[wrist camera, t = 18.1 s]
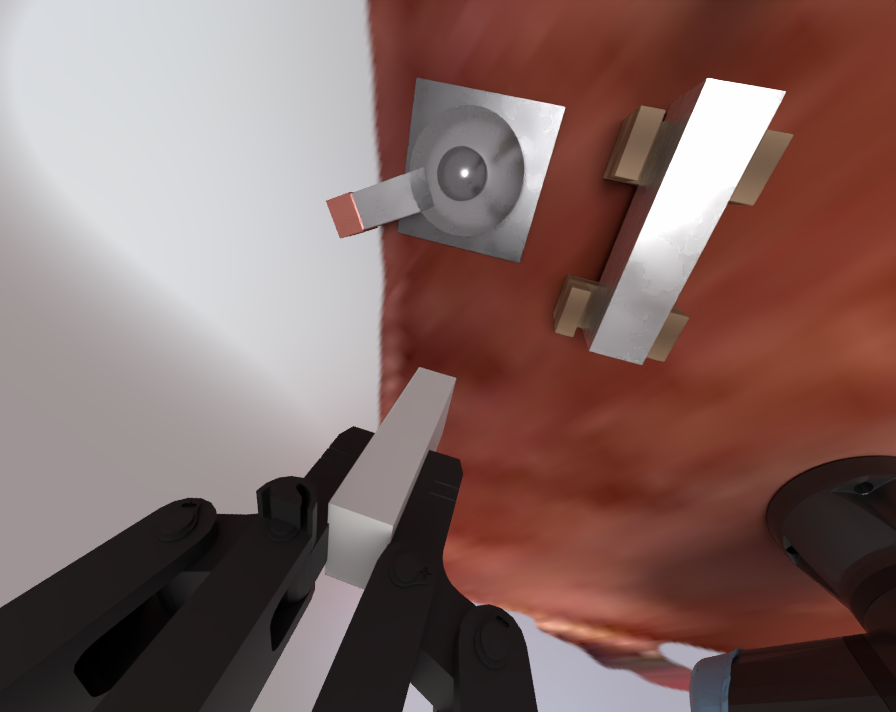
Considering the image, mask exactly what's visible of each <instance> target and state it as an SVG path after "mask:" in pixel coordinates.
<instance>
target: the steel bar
mask: <svg viewBox="0 0 896 712" xmlns="http://www.w3.org/2000/svg"><path fill="white" fill-rule="evenodd" d="M785 93H786V91H780V90H775V89H769V88H763V87H757V86H751V85H745V84H739V83H733V82H727V81H721V80H715V79H709V78H707V79H706V80H704V81H703V82H701V83H700V84H698V85H697V86H695V87H694V88H692V89H691V90H689V91H688V92H686V93H684V94H683V95H681V96H680V97H678V98H677V99H675V100H674V101H672V104H671V106H670V109H669V111H668V113H667V116H666V118H665V121H664V123H663V126H662V128H661V131H660V133H659V136H658V138H657V141H656V143H655V146H654V148H653V150H652V153H651V155H650V158H649V160H648V163H647V165H646V168H645V170H644V173H643V175H642V178H641V180H640V182H639V185H638V187H637V190H636V192H635V195H634V197H633V200H632V202H631V205H630V207H629V210H628V212H627V214H626V217H625V219H624V222H623V224H622V227H621V229H620V232H619V234H618V237H617V239H616V242H615V244H614V246H613V249H612V251H611V254H610V256H609V259H608V261H607V264H606V266H605V269H604V271H603V274H602V276H601V278H600V281H599V283H598V286H597V288H596V291H595V293H594V296H593V298H592V301H591V303H590V306H589V308H588V310H587V313H586V315H585V318H584V320H583V323H582V325H581V328H582V331H583V334H584V337H585V340H586V343H587V346H588V349H589V351H591V352H595V353H599V354H602V355H606V356H610V357H614V358H617V359H621V360H625V361H629V362H632V363H636V364H640V365H642V364H643V362H644V360H645V358H646V357H647V355H648V353H649V351H650V349H651V347H652V345H653V343H654V341H655V339H656V338H657V336H658V334H659V332H660V330H661V328H662V326H663V324H664V322H665V321H666V319H667V317H668V315H669V313H670V311H671V309H672V307H673V305H674V303H675V302H676V300H677V298H678V296H679V294H680V292H681V290H682V288H683V286H684V285H685V283H686V281H687V279H688V277H689V275H690V273H691V271H692V269H693V267H694V266H695V264H696V262H697V260H698V258H699V256H700V254H701V252H702V250H703V248H704V247H705V245H706V243H707V241H708V239H709V237H710V235H711V233H712V231H713V230H714V228H715V226H716V224H717V222H718V220H719V218H720V216H721V214H722V212H723V211H724V209H725V207H726V205H727V203H728V201H729V199H730V197H731V195H732V194H733V192H734V190H735V188H736V186H737V184H738V182H739V180H740V178H741V176H742V175H743V173H744V171H745V169H746V167H747V165H748V163H749V161H750V159H751V157H752V156H753V154H754V152H755V150H756V148H757V146H758V144H759V142H760V140H761V139H762V137H763V135H764V133H765V131H766V129H767V127H768V125H769V123H770V121H771V120H772V118H773V116H774V114H775V112H776V110H777V108H778V106H779V104H780V102H781V101H782V99H783V97H784V95H785Z"/></svg>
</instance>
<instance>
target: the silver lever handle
mask: <svg viewBox="0 0 896 712" xmlns="http://www.w3.org/2000/svg"><path fill="white" fill-rule="evenodd" d="M524 178H525V163H524V157H523V152H522V149H521V146H520V144H519V141H518V138H517V137H516V135H515V133H514V131H513V130H512V128H511V127H510V126H509V124H508V123H507V122H506V121H505V120H504V119H503V118H502V117H501V116H499V115H498V114H497V113H495V112H493V111H491V110H489V109H487V108H484V107H481V106H476V105H461V106H456V107H453V108H450V109H447V110H445V111H443V112H442V113H440V114H439V115H437V116H436V117H435V118H433V119H432V120H431V121H430V122H429V123H428V124H427V126H426V127H425V128H424V129H423V131H422V132H421V134H420V135H419V137H418V139H417V141H416V143H415V146H414V149H413V152H412V156H411V161H410V172H409V173H406V174H403V175H401V176H398V177H395V178H392V179H390V180H387V181H384V182H381V183H379V184H376V185H373V186H370V187H368V188H365V189H362V190H359V191H357V192H349V193H346V194H343V195H341V196H338V197H335V198H332V199H330V200H327V201H326V202H327V205H328V207H329V210H330V213H331V216H332V218H333V221H334V223H335V226H336V229H337V231H338V234H339V237H340V238H344V237H348V236H352V235H356V234H359V233H363V232H365V231H369V230H372V229H375V228H378V226H381V225H384V224H387V223H390V222H393V221H397V220H400V219H403V218H406V217H409V216H412V215H415V214H419V213H422V214H423V215H424V216H425V217H426V219H427V220H428V221H429V222H430V223H431V224H433V225H434V226H435V227H437V228H438V229H440V230H442V231H444V232H446V233H449V234H452V235H457V236H473V235H478V234H481V233H484V232H486V231H488V230H490V229H492V228H493V227H495V226H496V225H498V224H499V223H500V222H501V221H502V220H504V219H505V218H506V217H507V216H508V215H509V213H510V212H511V211H512V210H513V208H514V207H515V205H516V203H517V201H518V200H519V197H520V195H521V192H522V189H523V185H524Z"/></svg>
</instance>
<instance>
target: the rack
mask: <svg viewBox="0 0 896 712" xmlns="http://www.w3.org/2000/svg"><path fill="white" fill-rule="evenodd" d="M665 111H666V110H663V109H657V108H652V107H647V106H640V107H639V108H638V109H637V110H635V111H634V112H633V113H632V114H631V115H629V116H628V117H627V118H626V119H624V121H623V124H622V126H621V129H620V132H619V135H618V137H617V140H616V143H615V145H614V148H613V151H612V154H611V156H610V159H609V162H608V165H607V167H606V170H605V173H604V175H603V178H604V179H609V180H613V181H618V182H622V183H627V184H632V185H636V186H638V185H639V182H640V180H641V178H642V175H643V173H644V170H645V168H646V165H647V163H648V160H649V158H650V155H651V153H652V150H653V148H654V146H655V143H656V141H657V138H658V136H659V133H660V131H661V128H662V126H663V123H664V121H662V119H663V116H664V114H665ZM792 137H793V134H788V133H783V132H777V131H772V130H766V131H765V133H764V135H763V137H762V139H761V140H760V142H759V144H758V146H757V148H756V150H755V152H754V154H753V156H752V157H751V159H750V161H749V163H748V165H747V167H746V169H745V171H744V173H743V175H742V176H741V178H740V180H739V182H738V184H737V186H736V188H735V190H734V192H733V194H732V195H731V197H730V199H729V201H728V203H727V204H737V205H752V206H753V205H754V203H755V202H756V200H757V198H758V196H759V195H760V193H761V191H762V189H763V188H764V186H765V184H766V182H767V181H768V179H769V177H770V175H771V174H772V172H773V170H774V168H775V167H776V165H777V163H778V161H779V160H780V158H781V156H782V154H783V153H784V151H785V149H786V147H787V146H788V144H789V142H790V140H791V139H792ZM598 283H599V282H597V281H593V280H589V279H585V278H581V277H577V276H573V275H569V274H567V276H566V279H565V282H564V284H563V287H562V290H561V293H560V295H559V298H558V301H557V304H556V306H555V309H554V312H553V320H554V328H555V333H559V334H563V335H566V336H570V337H573V335H574V333H575V331H576V328H577V327H579V328H581V325H582V323H583V320H584V318H585V315H586V313H587V310H588V308H589V306H590V303H591V301H592V298H593V296H594V293H595V291H596V288H597V286H598ZM688 319H689V316H687V315H686V314H685V313H684V312H682V311H681V310H680V309H679V308H678V307H676V306H675V305H673V307H672V309H671V311H670V313H669V315H668V317H667V319H666V321H665V322H664V324H663V326H662V328H661V330H660V332H659V334H658V336H657V338H656V339H655V341H654V343H653V345H652V347H651V349H650V351H649V353H648V355H647V358H651V359H654V360H658V361H662V362H664V361H665V359H666V358H667V356H668V354H669V352H670V351H671V349H672V347H673V345H674V344H675V342H676V340H677V338H678V337H679V335H680V333H681V331H682V330H683V328H684V326H685V324H686V323H687V321H688Z"/></svg>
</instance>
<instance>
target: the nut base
mask: <svg viewBox="0 0 896 712" xmlns="http://www.w3.org/2000/svg"><path fill="white" fill-rule="evenodd" d="M461 105H476V106H481V107H484V108H487V109H489V110H491V111H493V112H495V113H497V114H498V115H499V116H501V117H502V118H503V119H504V120H505V121H506V122H507V123H508V124H509V126H510V127H511V128H512V130H513V131H514V133H515V135H516V137H517V138H518V141H519V144H520V146H521V149H522V152H523V157H524V163H525V178H524V185H523V189H522V192H521V195H520V197H519V200H518V201H517V203H516V205H515V207H514V208H513V210H512V211H511V212H510V213H509V215H508V216H507V217H506V218H505V219H504V220H502V221H501V222H500V223H499V224H498V225H496V226H495V227H493V228H492V229H490V230H488V231H486V232H484V233H481V234H478V235H473V236H457V235H452V234H449V233H446V232H444V231H442V230H440V229H438V228H437V227H435V226H434V225H433V224H431V223H430V222H429V221H428V220H427V219H426V217H425V216H424V215H423V214H422V213H419V214H415V215H412V216H409V217H406V218H403V219H400V220H399V224H398V232H399V233H403V234H406V235H410V236H414V237H418V238H422V239H426V240H430V241H434V242H438V243H442V244H446V245H450V246H454V247H458V248H462V249H466V250H470V251H474V252H478V253H482V254H486V255H490V256H494V257H498V258H502V259H506V260H510V261H514V262H517V263H519V262H520V259H521V256H522V252H523V249H524V246H525V242H526V239H527V235H528V232H529V229H530V225H531V222H532V219H533V215H534V212H535V208H536V205H537V202H538V198H539V195H540V191H541V188H542V185H543V181H544V178H545V175H546V171H547V168H548V164H549V161H550V158H551V154H552V151H553V148H554V144H555V141H556V137H557V134H558V131H559V127H560V124H561V120H562V117H563V114H564V110H565V107H563V106H558V105H553V104H548V103H543V102H538V101H533V100H527V99H522V98H517V97H512V96H507V95H502V94H497V93H492V92H487V91H482V90H477V89H472V88H466V87H461V86H456V85H451V84H446V83H441V82H436V81H431V80H426V79H421V78H417V79H416V87H415V95H414V103H413V112H412V120H411V128H410V136H409V144H408V152H407V160H406V168H405V174H406V173H409V172H410V161H411V156H412V152H413V149H414V146H415V143H416V141H417V139H418V137H419V135H420V134H421V132H422V131H423V129H424V128H425V127H426V126H427V124H428V123H429V122H430V121H431V120H432V119H433V118H435V117H436V116H437V115H439V114H440V113H442V112H443V111H445V110H447V109H450V108H453V107H456V106H461Z"/></svg>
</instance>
